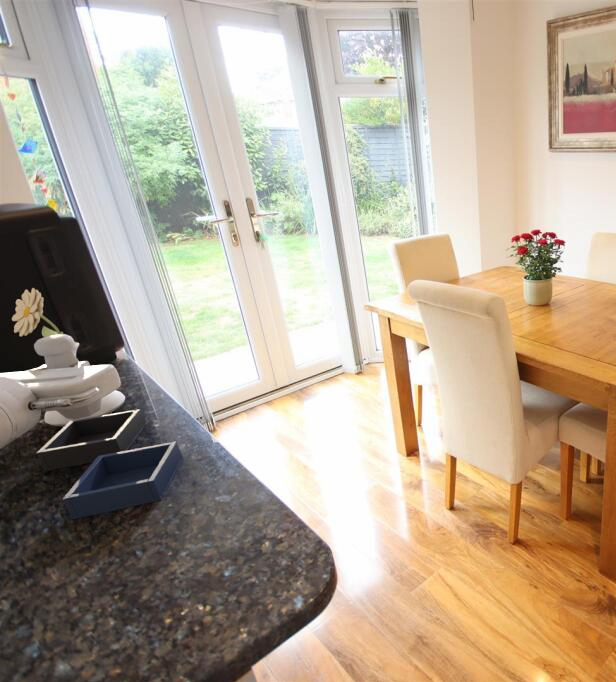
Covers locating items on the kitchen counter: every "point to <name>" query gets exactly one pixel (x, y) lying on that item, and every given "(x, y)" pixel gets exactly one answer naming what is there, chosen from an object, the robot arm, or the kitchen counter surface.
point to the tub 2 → (124, 480)
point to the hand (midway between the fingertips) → (69, 366)
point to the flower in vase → (27, 321)
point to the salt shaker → (62, 357)
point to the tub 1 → (91, 439)
